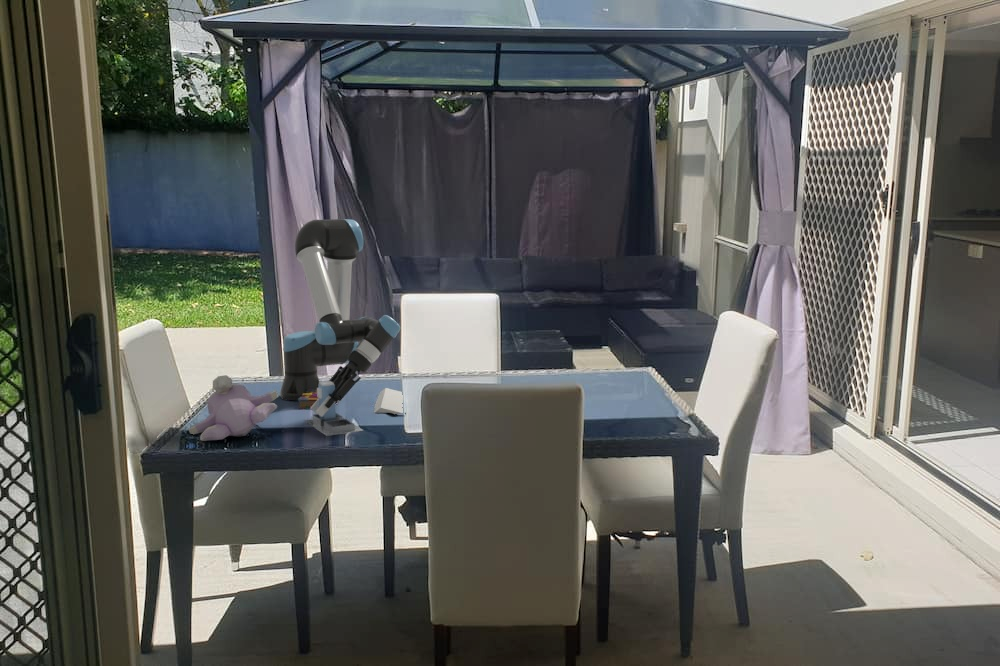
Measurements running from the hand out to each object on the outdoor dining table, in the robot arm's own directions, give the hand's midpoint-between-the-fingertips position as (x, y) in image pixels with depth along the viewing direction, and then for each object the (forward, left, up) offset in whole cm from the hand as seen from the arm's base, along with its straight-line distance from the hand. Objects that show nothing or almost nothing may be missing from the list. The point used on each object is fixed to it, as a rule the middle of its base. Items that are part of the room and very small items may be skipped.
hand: (315, 412), depth 276 cm
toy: (-9, -23, -5) cm, 25 cm away
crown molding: (-14, +32, -6) cm, 35 cm away
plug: (0, +4, -3) cm, 5 cm away
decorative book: (-25, +10, -5) cm, 27 cm away
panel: (+5, +4, -5) cm, 8 cm away
